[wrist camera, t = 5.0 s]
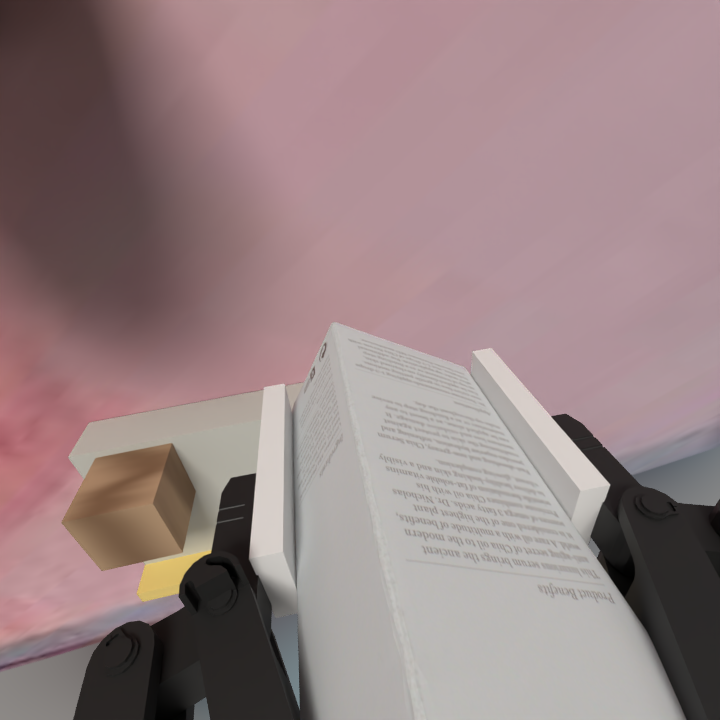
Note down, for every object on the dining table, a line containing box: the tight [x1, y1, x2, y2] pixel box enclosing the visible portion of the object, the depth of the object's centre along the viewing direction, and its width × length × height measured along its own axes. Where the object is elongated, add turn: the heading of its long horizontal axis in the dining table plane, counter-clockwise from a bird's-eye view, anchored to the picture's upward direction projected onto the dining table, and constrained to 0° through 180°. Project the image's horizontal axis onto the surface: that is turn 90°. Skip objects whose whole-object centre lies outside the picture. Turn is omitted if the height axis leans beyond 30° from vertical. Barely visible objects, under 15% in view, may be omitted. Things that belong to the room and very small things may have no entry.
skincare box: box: [292, 322, 687, 720], centre depth 11 cm, size 6×4×12 cm
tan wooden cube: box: [61, 443, 196, 571], centre depth 26 cm, size 5×5×5 cm
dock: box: [68, 382, 304, 602], centre depth 31 cm, size 20×14×6 cm
